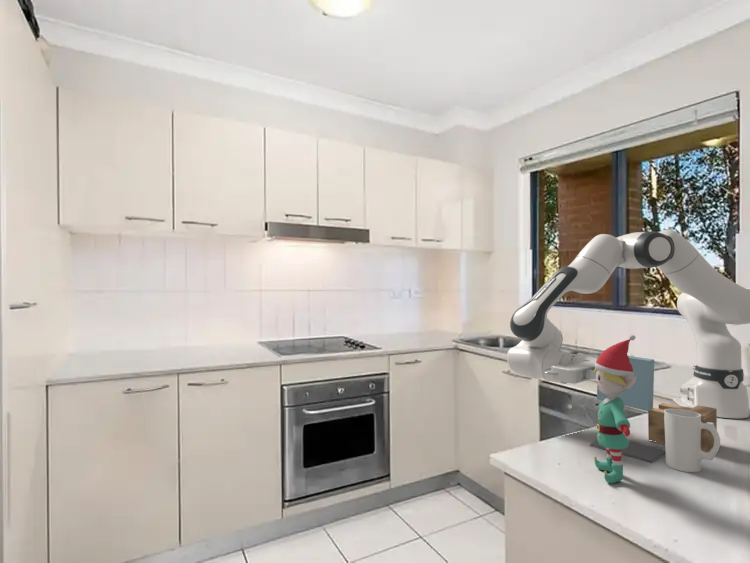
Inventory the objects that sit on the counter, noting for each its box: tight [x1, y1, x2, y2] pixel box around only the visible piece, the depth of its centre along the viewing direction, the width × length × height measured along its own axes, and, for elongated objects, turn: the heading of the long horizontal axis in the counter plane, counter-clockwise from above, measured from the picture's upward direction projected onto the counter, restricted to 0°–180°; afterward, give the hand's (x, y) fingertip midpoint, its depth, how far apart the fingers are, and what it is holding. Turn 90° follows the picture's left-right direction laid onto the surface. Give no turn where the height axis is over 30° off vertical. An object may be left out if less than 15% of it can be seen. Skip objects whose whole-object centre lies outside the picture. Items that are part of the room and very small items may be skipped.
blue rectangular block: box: [596, 351, 655, 412], centre depth 111 cm, size 12×3×12 cm, turn 39°
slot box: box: [647, 402, 718, 452], centre depth 113 cm, size 12×10×9 cm
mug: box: [664, 409, 721, 473], centre depth 97 cm, size 10×7×12 cm, turn 45°
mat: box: [589, 440, 666, 463], centre depth 109 cm, size 14×10×1 cm
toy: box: [593, 334, 637, 484], centre depth 94 cm, size 17×8×30 cm, turn 167°
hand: (611, 375), depth 114 cm, fingers closed on blue rectangular block, 3 cm apart
